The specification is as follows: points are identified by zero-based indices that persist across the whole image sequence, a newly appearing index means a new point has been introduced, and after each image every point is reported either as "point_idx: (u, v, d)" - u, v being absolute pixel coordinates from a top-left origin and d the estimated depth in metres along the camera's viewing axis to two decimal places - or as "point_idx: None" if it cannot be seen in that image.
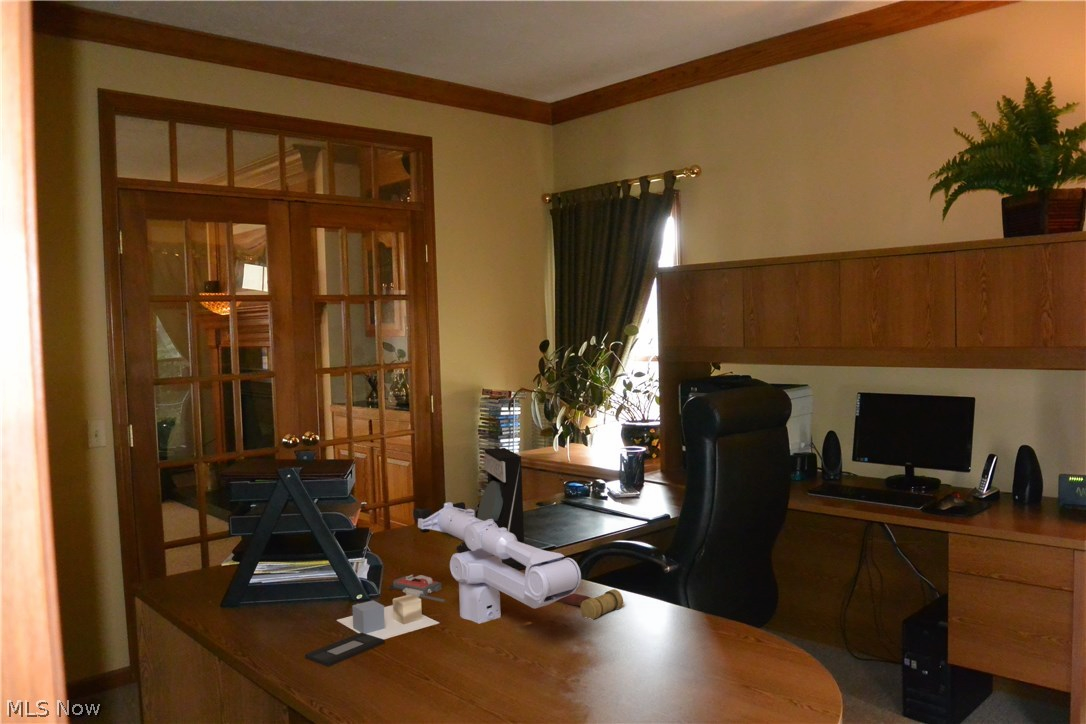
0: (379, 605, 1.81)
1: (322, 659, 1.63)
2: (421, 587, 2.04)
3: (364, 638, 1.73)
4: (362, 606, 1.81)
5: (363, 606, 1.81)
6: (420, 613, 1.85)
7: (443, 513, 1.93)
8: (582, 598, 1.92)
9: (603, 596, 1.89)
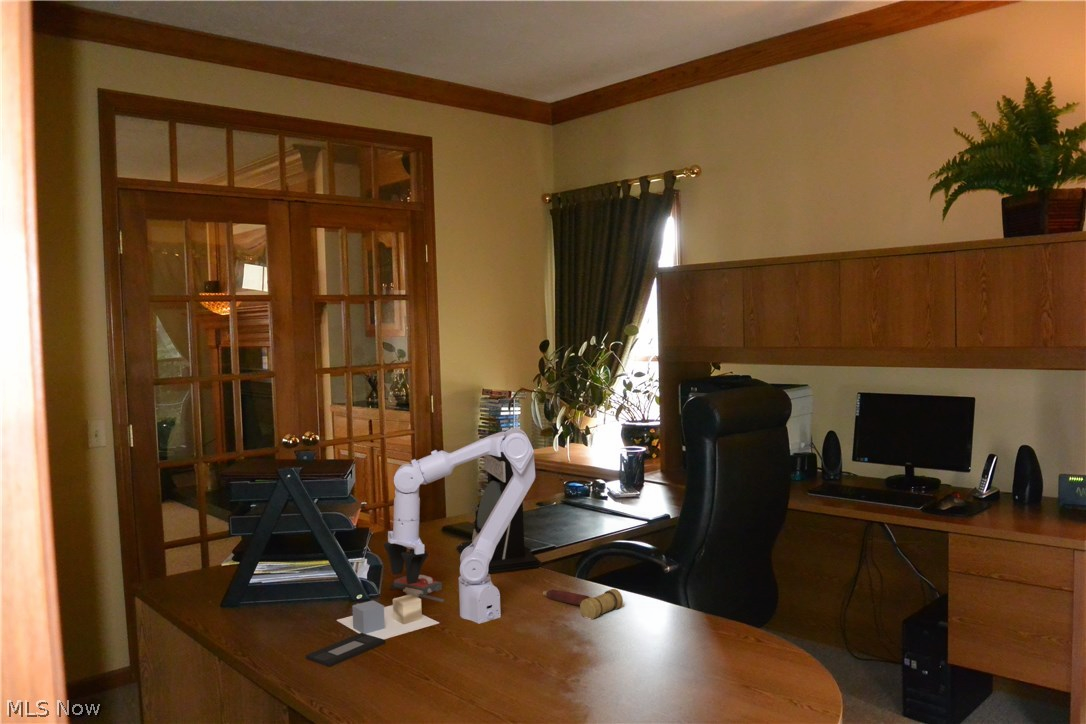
0: (379, 605, 1.81)
1: (323, 660, 1.63)
2: (421, 587, 2.04)
3: (365, 639, 1.73)
4: (362, 606, 1.81)
5: (363, 606, 1.81)
6: (420, 613, 1.85)
7: (401, 538, 1.83)
8: (582, 597, 1.92)
9: (603, 595, 1.89)
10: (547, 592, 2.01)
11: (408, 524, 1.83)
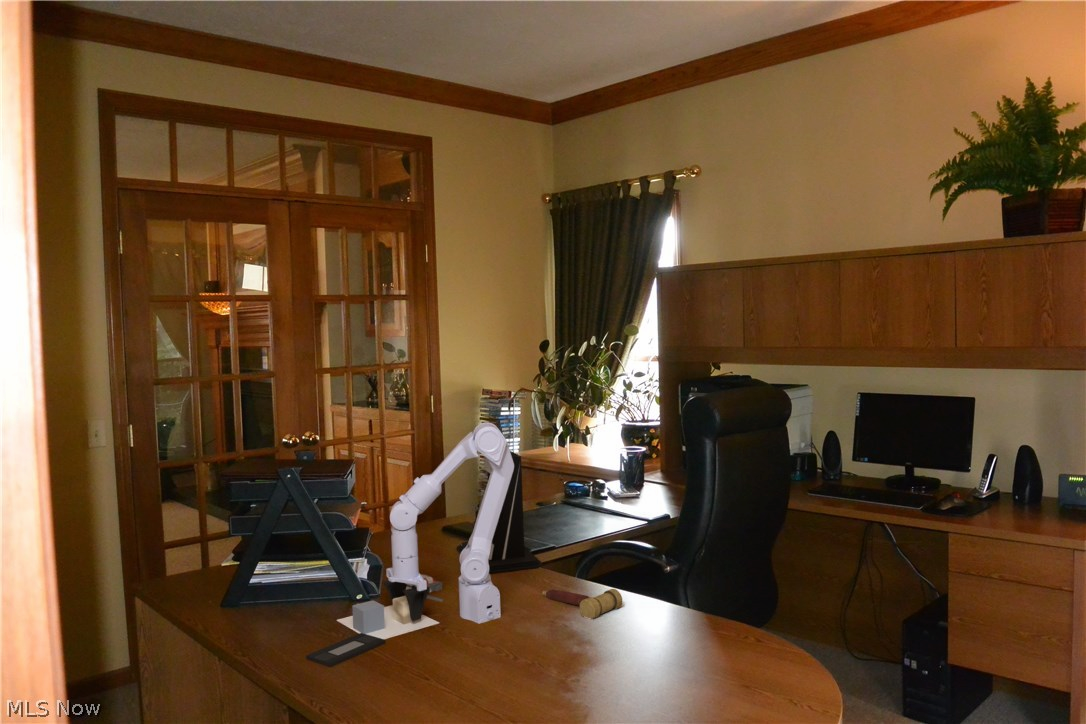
0: (379, 605, 1.81)
1: (324, 660, 1.63)
2: None
3: (365, 639, 1.73)
4: (362, 606, 1.81)
5: (363, 606, 1.81)
6: None
7: (401, 576, 1.83)
8: (581, 597, 1.92)
9: (602, 595, 1.89)
10: (547, 592, 2.01)
11: (408, 561, 1.83)
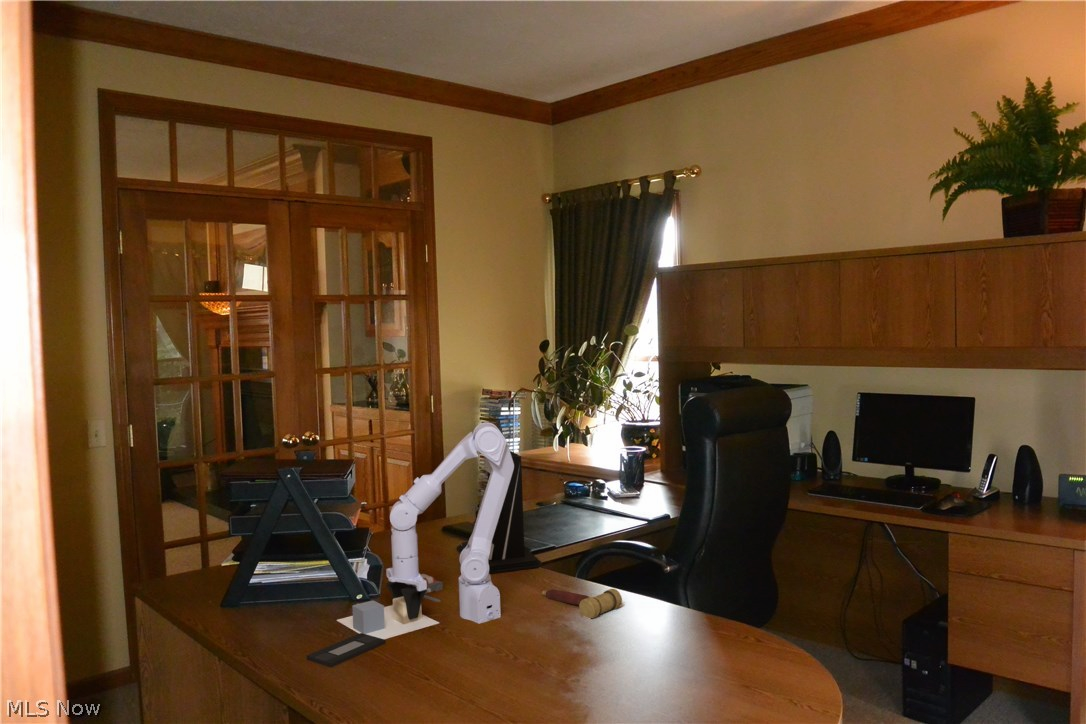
0: (379, 605, 1.81)
1: (324, 660, 1.63)
2: None
3: (365, 639, 1.73)
4: (362, 606, 1.81)
5: (363, 606, 1.81)
6: (420, 613, 1.85)
7: (401, 576, 1.83)
8: (581, 597, 1.93)
9: (602, 595, 1.89)
10: (546, 592, 2.01)
11: (408, 561, 1.83)
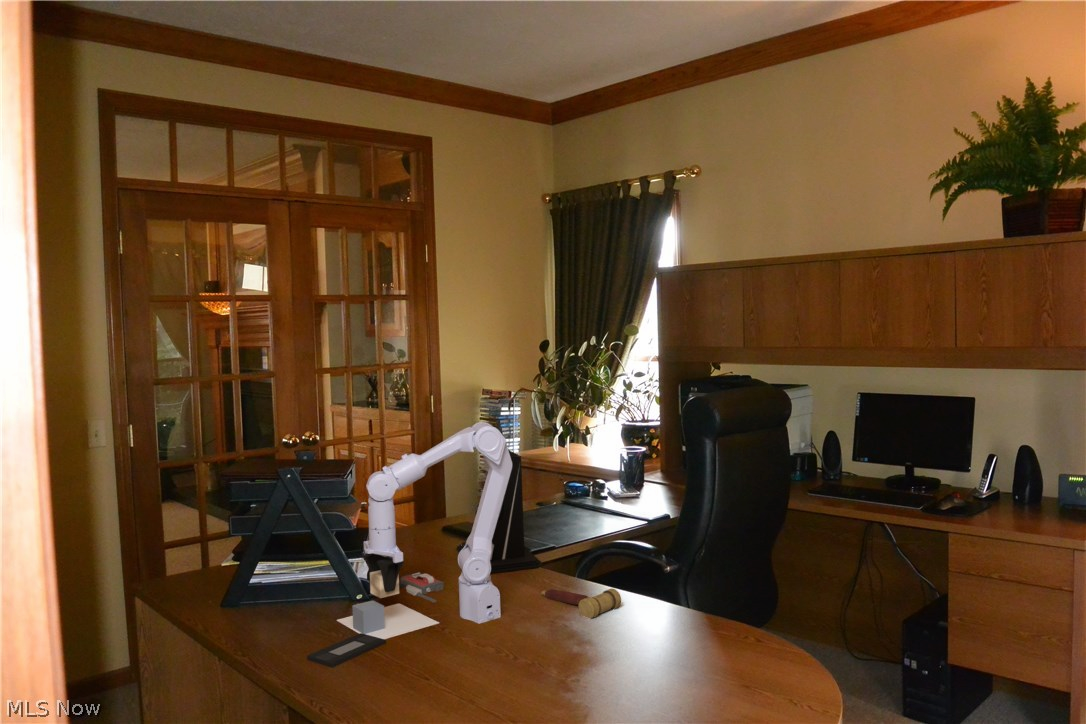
0: (379, 605, 1.81)
1: (325, 660, 1.62)
2: (421, 585, 2.05)
3: (365, 639, 1.73)
4: (362, 606, 1.81)
5: (363, 606, 1.81)
6: (397, 587, 1.83)
7: (378, 547, 1.80)
8: (580, 597, 1.93)
9: (601, 595, 1.89)
10: (546, 592, 2.01)
11: (384, 533, 1.80)
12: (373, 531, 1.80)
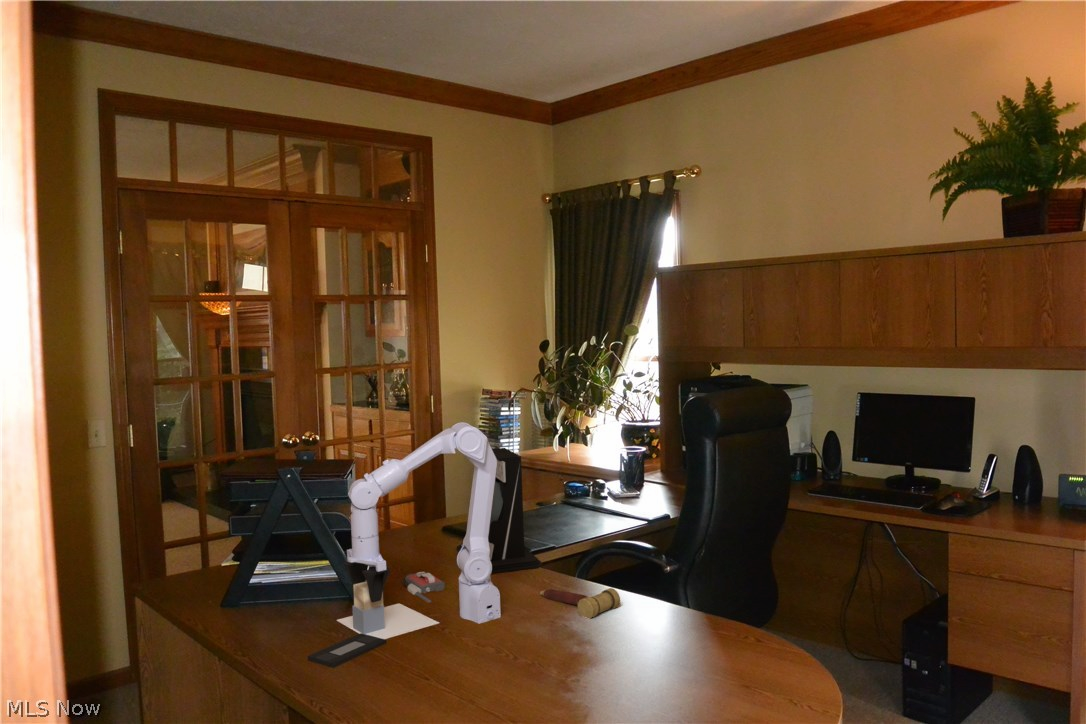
0: None
1: (326, 660, 1.62)
2: (421, 585, 2.06)
3: (365, 639, 1.73)
4: None
5: None
6: (381, 599, 1.81)
7: (361, 556, 1.78)
8: (579, 597, 1.93)
9: (600, 595, 1.90)
10: (544, 592, 2.01)
11: (367, 541, 1.78)
12: (356, 539, 1.78)
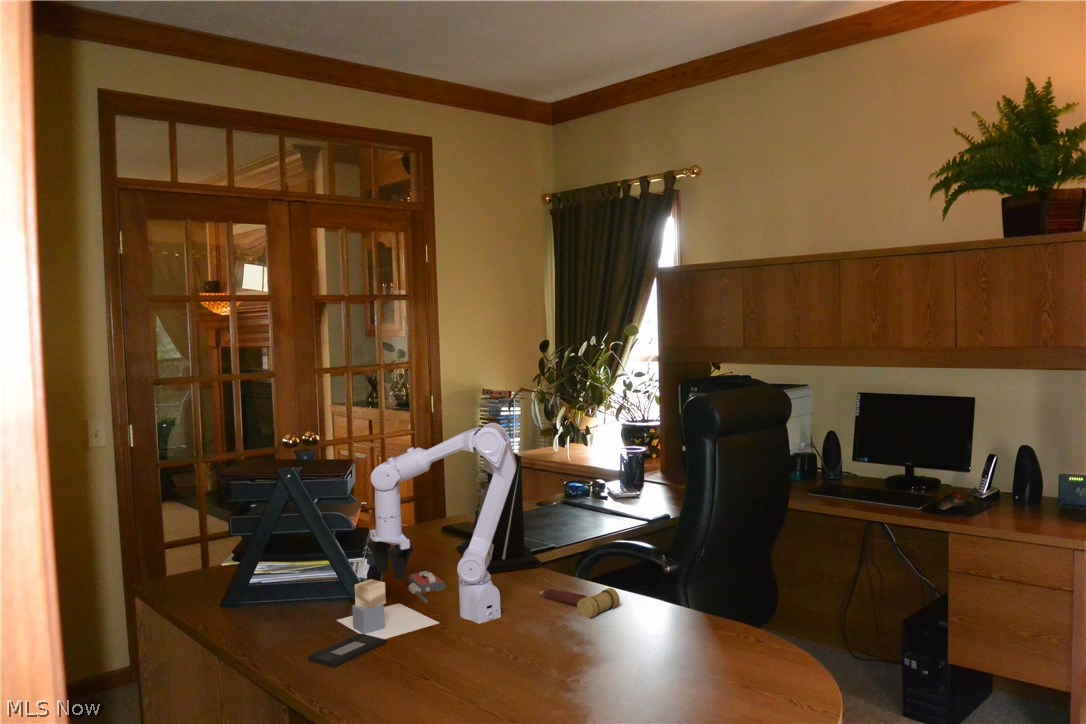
0: None
1: (327, 660, 1.62)
2: (421, 584, 2.06)
3: (365, 639, 1.73)
4: None
5: None
6: (384, 597, 1.82)
7: (385, 535, 1.86)
8: (578, 597, 1.93)
9: (599, 595, 1.90)
10: (544, 592, 2.01)
11: (391, 521, 1.86)
12: (380, 519, 1.86)
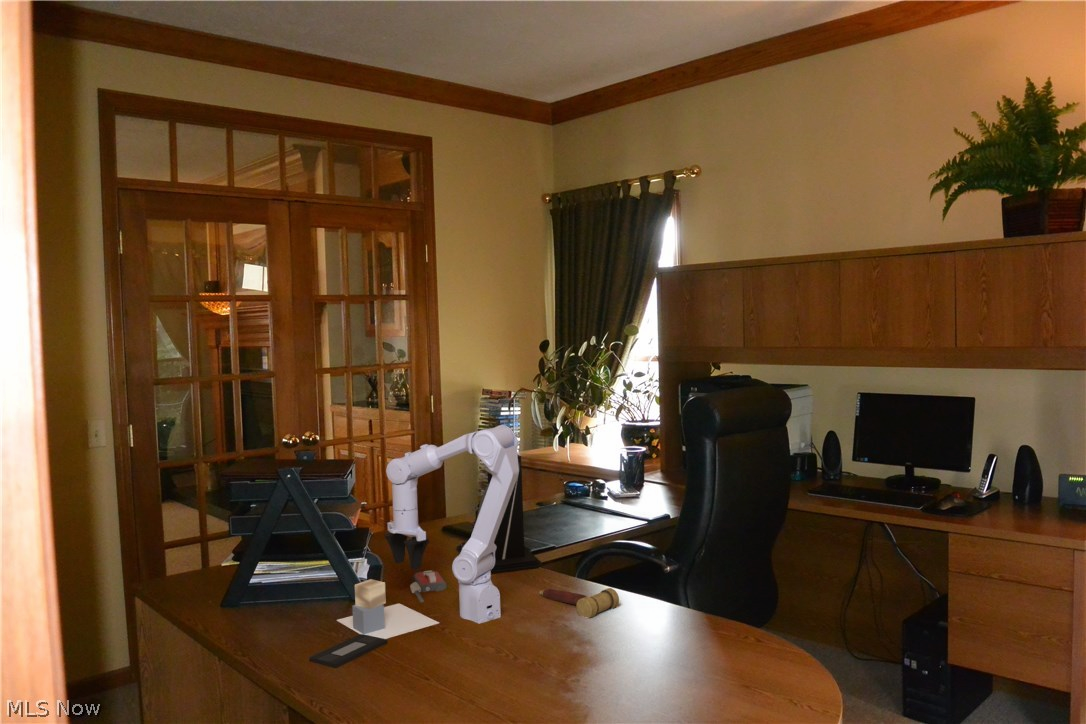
0: None
1: (328, 661, 1.62)
2: (422, 584, 2.07)
3: (366, 639, 1.73)
4: None
5: None
6: (384, 597, 1.82)
7: (402, 527, 1.92)
8: (578, 597, 1.93)
9: (599, 595, 1.90)
10: (544, 591, 2.01)
11: (408, 513, 1.92)
12: (397, 512, 1.92)
